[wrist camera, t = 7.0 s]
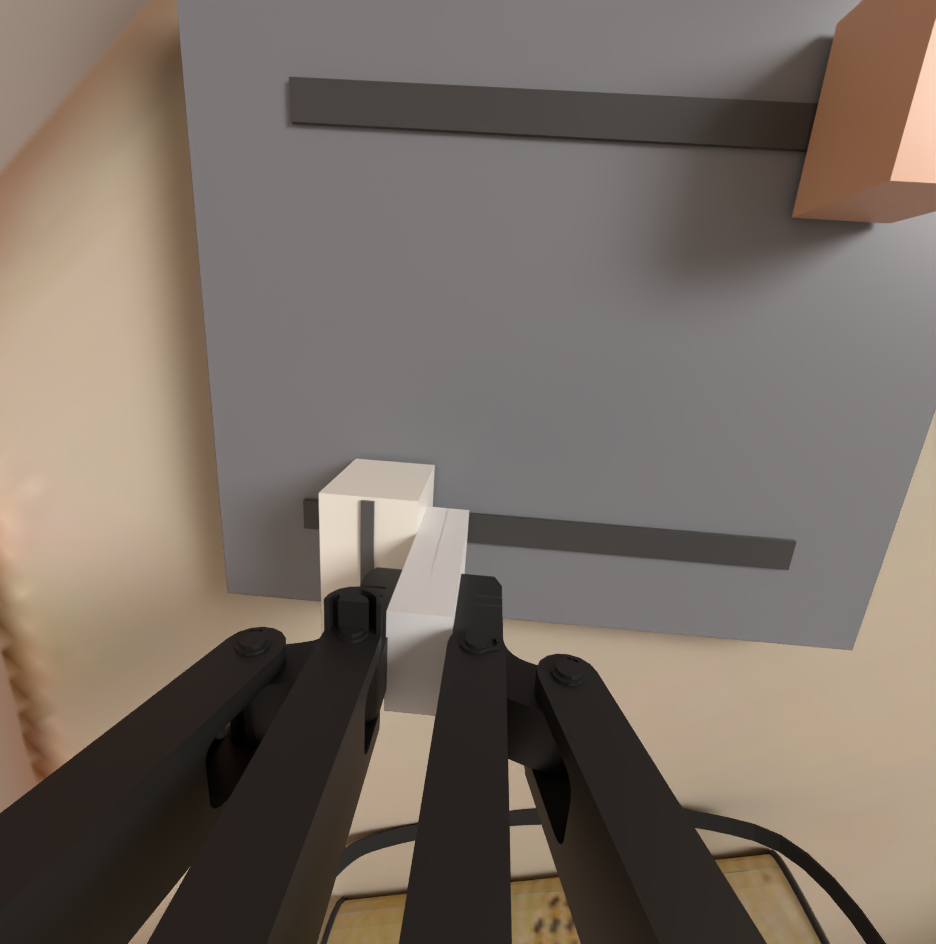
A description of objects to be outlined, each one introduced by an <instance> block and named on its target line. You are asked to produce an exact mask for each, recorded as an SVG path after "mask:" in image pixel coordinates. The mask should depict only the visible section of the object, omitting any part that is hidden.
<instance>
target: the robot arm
mask: <svg viewBox="0 0 936 944" xmlns="http://www.w3.org/2000/svg"><path fill="white" fill-rule="evenodd" d="M468 521H469V510H463V509H451V508H439V507H428V506H427V509H426V511H425V514H424V516H423V519H422V521H421V524H420V526H419V529H418V532H417V534H416V537H415V539H414V542H413V544H412V547H411V549H410V552H409V555H408V557H407V560H406V562H405V565H404V567H403V569H391V568H380V567H376V568H375V569H373V570H372V571H371V572H369V573H368V574H366V575H365V577H364V579H363V580H362V582H361V584H360V586H357V587H345V588H340V589H337V590H335V591H333V592H331V593H329V594H328V595H327V596H326V597H325V598H324V632H323V634H322V635H321V637H320V639H317V640H314V641H309V642H302V643H294V644H286V638H285V636H284V635H283V633H282V632H280V631H278V630H276V629H274V628H267V627H257V628H250V629H247V630H243V631H240V632H238V633H236V634H234V635H233V636H231V637H229V638H228V639H226V640H225V641H224V642H222V643H221V644H220V645H218V646H217V647H216V648H215V649H213V650H212V651H211V652H209V653H208V654H207V655H205V656H204V657H203V658H202V659H200V660H199V661H198V662H196V663H195V664H194V665H192V666H191V667H190V668H189V669H187V670H186V671H185V672H183V673H182V674H181V675H179V676H178V677H177V678H176V679H174V680H173V681H172V682H170V683H169V684H168V685H166V686H165V687H164V688H163V689H161V690H160V691H159V692H157V693H156V694H155V695H153V696H152V697H151V698H150V699H148V700H147V701H146V702H144V703H143V704H142V705H140V706H139V707H138V708H137V709H135V710H134V711H133V712H131V713H130V714H129V715H127V716H126V717H125V718H124V719H122V720H121V721H120V722H118V723H117V724H116V725H114V726H113V727H112V728H111V729H109V730H108V731H107V732H105V733H104V734H103V735H101V736H100V737H99V738H98V739H96V740H95V741H94V742H92V743H91V744H90V745H88V746H87V747H86V748H85V749H83V750H82V751H81V752H79V753H78V754H77V755H75V756H74V757H73V758H72V759H70V760H69V761H68V762H66V763H65V764H64V765H62V766H61V767H60V768H59V769H57V770H56V771H55V772H53V773H52V774H51V775H49V776H48V777H47V778H46V779H44V780H43V781H42V782H40V783H39V784H38V785H36V786H35V787H34V788H33V789H31V790H30V791H29V792H27V793H26V794H25V795H24V796H22V797H21V798H20V799H18V800H17V801H16V802H14V803H13V804H12V805H11V806H9V807H8V808H7V809H5V810H4V811H3V812H1V813H0V944H128V943H129V941H130V940H131V939H132V938H133V936H134V935H135V934H136V933H137V931H138V930H139V929H140V928H141V927H142V925H143V924H144V923H145V922H146V920H147V919H148V918H149V917H150V915H151V914H152V913H153V912H154V911H155V909H156V908H157V907H158V906H159V904H160V903H161V902H162V901H163V899H164V898H165V897H166V896H167V895H168V893H169V892H170V891H171V890H172V888H173V887H174V886H175V885H176V883H177V882H178V881H179V880H180V878H181V877H182V876H183V875H184V874H185V872H186V871H187V870H188V869H189V870H188V872H187V874H186V876H185V877H184V879H183V881H182V883H181V884H180V886H179V888H178V890H177V891H176V893H175V895H174V897H173V898H172V900H171V902H170V904H169V906H168V907H167V909H166V911H165V913H164V914H163V916H162V918H161V920H160V921H159V923H158V925H157V927H156V928H155V930H154V932H153V934H152V936H151V937H150V939H149V941H148V943H147V944H317V941H318V938H319V934H320V931H321V927H322V924H323V920H324V917H325V914H326V910H327V907H328V903H329V900H330V896H331V893H332V889H333V886H334V883H335V879H336V876H337V872H338V869H339V865H340V862H341V859H342V855H343V852H344V848H345V845H346V841H347V838H348V834H349V831H350V828H351V824H352V821H353V817H354V814H355V810H356V807H357V804H358V800H359V797H360V793H361V790H362V786H363V783H364V779H365V776H366V773H367V769H368V766H369V762H370V759H371V755H372V752H373V749H374V745H375V742H376V738H377V735H378V731H379V725H380V708H381V705H382V702H383V699H384V711H393V712H403V713H412V714H423V715H432V716H435V723H434V729H433V735H432V741H431V747H430V753H429V760H428V766H427V772H426V778H425V784H424V791H423V797H422V803H421V809H420V815H419V821H418V828H417V834H416V840H415V846H414V852H413V858H412V865H411V871H410V877H409V883H408V889H407V896H406V902H405V908H404V914H403V920H402V926H401V933H400V939H399V944H512V919H511V873H510V827H509V781H508V759H510V760H512V761H515V762H517V763H520V764H522V765H524V767H525V775H526V778H527V781H528V784H529V787H530V790H531V793H532V796H533V799H534V802H535V805H536V809H537V812H538V815H539V818H540V821H541V824H542V827H543V830H544V833H545V836H546V839H547V842H548V845H549V848H550V851H551V854H552V857H553V860H554V864H555V867H556V870H557V873H558V876H559V879H560V882H561V885H562V888H563V891H564V894H565V897H566V900H567V903H568V906H569V909H570V912H571V915H572V918H573V922H574V925H575V928H576V931H577V934H578V937H579V940H580V943H581V944H767V943H766V941H765V940H764V938H763V936H762V935H761V933H760V932H759V930H758V928H757V927H756V925H755V924H754V922H753V920H752V919H751V917H750V916H749V914H748V912H747V911H746V909H745V908H744V906H743V904H742V903H741V901H740V900H739V898H738V896H737V895H736V893H735V892H734V890H733V888H732V887H731V885H730V884H729V882H728V880H727V879H726V877H725V876H724V874H723V872H722V871H721V869H720V868H719V866H718V864H717V863H716V861H715V860H714V858H713V856H712V855H711V853H710V852H709V850H708V848H707V847H706V845H705V844H704V842H703V840H702V839H701V837H700V836H699V834H698V832H697V831H696V829H695V828H694V826H693V824H692V823H691V821H690V820H689V818H688V816H687V815H686V813H685V812H684V810H683V808H682V807H681V805H680V804H679V802H678V800H677V799H676V797H675V796H674V794H673V792H672V791H671V789H670V788H669V786H668V784H667V783H666V781H665V780H664V778H663V776H662V775H661V773H660V772H659V770H658V768H657V767H656V765H655V764H654V762H653V760H652V759H651V757H650V756H649V754H648V752H647V751H646V749H645V748H644V746H643V744H642V743H641V741H640V740H639V738H638V736H637V735H636V733H635V732H634V730H633V728H632V727H631V725H630V724H629V722H628V720H627V719H626V717H625V716H624V714H623V712H622V711H621V709H620V708H619V706H618V704H617V703H616V701H615V700H614V698H613V696H612V695H611V693H610V692H609V690H608V688H607V687H606V685H605V684H604V682H603V681H602V679H601V677H600V676H599V674H598V673H597V671H596V670H595V669H594V668H593V667H592V666H591V665H590V664H589V663H587V662H586V661H584V660H582V659H581V658H578V657H575V656H572V655H567V654H554V655H549V656H546V657H545V658H543V659H542V660H540V662H539V664H538V665H535V664H532V663H529V662H526V661H524V660H521V659H519V658H518V657H516V656H515V655H513V654H512V653H511V652H510V651H509V650H508V649H507V648H506V646H505V644H504V641H503V614H502V586H501V584H500V583H499V582H498V580H497V579H496V578H495V577H494V576H483V575H472V574H465V561H466V548H467V535H468ZM384 695H385V696H384ZM190 866H191V867H190ZM189 867H190V868H189Z"/></svg>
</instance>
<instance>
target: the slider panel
mask: <svg viewBox="0 0 936 944" xmlns="http://www.w3.org/2000/svg"><path fill="white" fill-rule="evenodd" d="M861 1H862V0H177V10H178V22H179V34H180V45H181V57H182V68H183V80H184V92H185V103H186V115H187V127H188V138H189V150H190V161H191V173H192V185H193V196H194V208H195V219H196V231H197V243H198V254H199V266H200V277H201V289H202V301H203V312H204V324H205V335H206V347H207V359H208V370H209V382H210V394H211V405H212V417H213V428H214V440H215V452H216V463H217V475H218V486H219V498H220V510H221V521H222V533H223V544H224V556H225V568H226V579H227V591H228V593H234V594H244V595H255V596H266V597H277V598H288V599H299V600H310V601H321V574H320V532H319V492H320V491H321V490H322V489H324V488H325V487H326V486H327V485H328V484H329V483H330V482H331V481H332V480H333V479H334V478H335V477H337V476H338V475H339V474H340V473H341V472H342V471H343V470H344V469H345V468H346V467H347V466H349V465H350V464H351V463H352V462H353V461H354V460H355V459H367V460H379V461H392V462H404V463H416V464H429V465H435V471H434V491H433V507H439V508H451V509H463V510H469V521H468V535H467V548H466V561H465V574H472V575H483V576H494V577H495V578H496V579H497V580H498V582H499V583H500V584H501V586H502V614H503V618H506V619H516V620H527V621H538V622H549V623H560V624H571V625H582V626H593V627H603V628H614V629H625V630H636V631H647V632H658V633H669V634H680V635H691V636H701V637H712V638H723V639H734V640H745V641H756V642H767V643H778V644H788V645H799V646H810V647H821V648H832V649H843V650H852V649H853V646H854V644H855V641H856V638H857V635H858V632H859V629H860V626H861V623H862V620H863V618H864V615H865V612H866V609H867V606H868V603H869V600H870V597H871V594H872V592H873V589H874V586H875V583H876V580H877V577H878V574H879V571H880V568H881V566H882V563H883V560H884V557H885V554H886V551H887V548H888V545H889V542H890V540H891V537H892V534H893V531H894V528H895V525H896V522H897V519H898V516H899V513H900V511H901V508H902V505H903V502H904V499H905V496H906V493H907V490H908V487H909V485H910V482H911V479H912V476H913V473H914V470H915V467H916V464H917V461H918V459H919V456H920V453H921V450H922V447H923V444H924V441H925V438H926V435H927V433H928V430H929V427H930V424H931V421H932V418H933V415H934V412H935V409H936V211H935V212H931V213H928V214H924V215H920V216H916V217H913V218H909V219H905V220H901V221H898V222H894V223H890V224H889V223H872V222H855V221H838V220H822V219H805V218H792V214H793V210H794V205H795V201H796V197H797V192H798V188H799V184H800V180H801V175H802V171H803V167H804V162H805V158H806V154H807V150H808V145H809V141H810V137H811V132H812V128H813V124H814V120H815V115H816V111H817V107H818V102H819V98H820V94H821V90H822V85H823V81H824V77H825V72H826V68H827V64H828V60H829V55H830V51H831V47H832V42H833V38H834V34H835V30H836V25H837V23H838V22H839V21H840V20H841V19H842V18H843V17H845V16H846V15H847V14H848V13H849V12H850V11H851V10H852V9H853V8H855V7H856V6H857V5H858V4H859V3H860V2H861Z"/></svg>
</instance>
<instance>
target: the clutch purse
mask: <svg viewBox="0 0 936 944" xmlns="http://www.w3.org/2000/svg"><path fill="white" fill-rule="evenodd" d="M684 812H685V813H686V815H687V816H688V818H689V820H690V821H691V823H692V824H693V826H694V828H700V829H706V830H711V831H716V832H720V833H725V834H730V835H733V836H737V837H741V838H745V839H748V840H752V841H755V842H758V843H760V844H762V845H765V846H767V847H769V848H772V849H774V850H776V851H778V852H780V853H781V854H783V855H784V856H786V857H787V858H788V859H790V860H791V861H793V862H794V863H795V864H797V865H798V866H800V867H801V868H803V869H804V870H805V871H806V872H807V873H808V874H809V875H810V876H811V877H812V878H813V879H814V880H815V881H816V882H817V883H818V884H819V885H820V886H821V887H822V888H823V889H824V890H825V891H826V892H827V893H828V894H829V895H830V897H831V898H832V899H833V900H834V901H835V903H836V904H837V905H838V906H839V907H840V909H841V910H842V911H843V912H844V914H845V915H846V916H847V917H848V918H849V920H850V921H851V922H852V924H853V925H854V926H855V928H856V929H857V931H858V932H859V934H860V935H861V936H862V938H863V939H864V941H865V942H866V944H886V943H885V942H884V940H883V939H882V937H881V936H880V935H879V933H878V932H877V931H876V929H875V928H874V926H873V925H872V924H871V922H870V921H869V919H868V918H867V917H866V915H865V914H864V913H863V911H862V910H861V909H860V907H859V906H858V905H857V904H856V903H855V902H854V900H853V899H852V898H851V897H850V896H849V895H848V893H847V892H846V891H845V890H844V889H843V888H842V886H841V885H840V884H839V883H838V882H837V881H836V879H835V878H834V877H833V876H832V875H830V874H829V873H828V872H827V871H826V870H825V869H824V868H823V867H822V866H821V865H820V864H819V863H818V862H817V861H816V860H814V859H813V858H812V857H811V856H810V855H809V854H808V853H807V852H805V851H804V850H802V849H801V848H799V847H798V846H796V845H795V844H793V843H792V842H790V841H789V840H788V839H786V838H785V837H783V836H782V835H780V834H777V833H775V832H772V831H770V830H768V829H765V828H763V827H760V826H758V825H756V824H752V823H748V822H744V821H740V820H736V819H732V818H728V817H723V816H718V815H713V814H709V813H702V812H696V811H689V810H684ZM518 825H542V824H541V821H540V818H539V815H538V812H537V809H522V810H512V811H509V826H518ZM417 828H418V824H415V825H410V826H405V827H401V828H397V829H393V830H389V831H385V832H381V833H378V834H374V835H371V836H368V837H365V838H363V839H360V840H358V841H356V842H354V843H352V844H351V845H349V846H348V847H346V848H345V849H344V852H343V855H342V859H341V862H340V865H339V869H338V872H337V876H338V875H339V874H340V873H341V872H342V871H343V870H344V869H345V868H346V867H347V866H348V865H349V864H350V863H352V862H353V861H355V860H356V859H357V858H359V857H361V856H363V855H365V854H367V853H370V852H372V851H376V850H379V849H382V848H385V847H389V846H393V845H397V844H401V843H405V842H410V841H414V840H416V834H417ZM774 850H770V851H769V854H765V855H756V856H747V857H738V858H729V859H720V860H715V861H716V863H717V864H718V866H719V868H720V869H721V871H722V872H723V874H724V876H725V877H726V879H727V880H728V882H729V884H730V885H731V887H732V888H733V890H734V892H735V893H736V895H737V896H738V898H739V900H740V901H741V903H742V904H743V906H744V908H745V909H746V911H747V912H748V914H749V916H750V917H751V919H752V920H753V922H754V924H755V925H756V927H757V928H758V930H759V932H760V933H761V935H762V936H763V938H764V940H765V941H766V943H767V944H830V942H829V940H828V938H827V936H826V934H825V932H824V931H823V929H822V927H821V925H820V923H819V921H818V919H817V918H816V916H815V914H814V912H813V910H812V908H811V907H810V905H809V903H808V901H807V899H806V898H805V896H804V894H803V892H802V890H801V889H800V887H799V885H798V883H797V882H796V880H795V878H794V877H793V875H792V873H791V872H790V870H789V868H788V867H787V865H786V864H785V862H784V861H783V859H782V858H781V857H780V856H779V854H777V853H776V852H775V851H774ZM337 876H336V877H337ZM406 896H407V894H400V895H391V896H382V897H373V898H364V899H355V900H347V899H346V898H345V897H342V898H341V899H340V900H339V901H338V902H337V903H336V905H335V907H334V909H333V911H332V913H331V915H330V917H329V920H328V923H327V925H326V928H325V931H324V934H323V937H322V940H321V943H320V944H399V939H400V933H401V926H402V920H403V914H404V908H405V902H406ZM511 919H512V944H581V943H580V940H579V937H578V934H577V931H576V928H575V925H574V922H573V918H572V915H571V912H570V909H569V906H568V903H567V900H566V897H565V894H564V891H563V888H562V885H561V882H560V879H559V877H555V878H546V879H537V880H528V881H519V882H511Z"/></svg>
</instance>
